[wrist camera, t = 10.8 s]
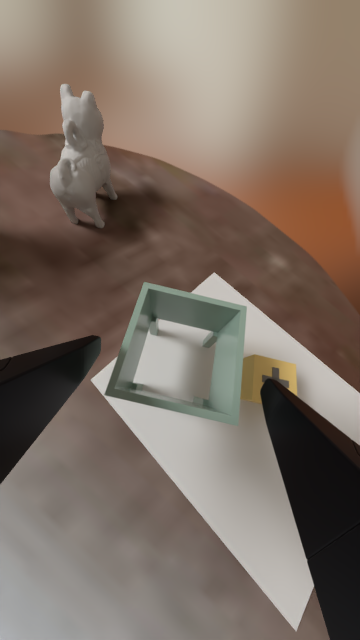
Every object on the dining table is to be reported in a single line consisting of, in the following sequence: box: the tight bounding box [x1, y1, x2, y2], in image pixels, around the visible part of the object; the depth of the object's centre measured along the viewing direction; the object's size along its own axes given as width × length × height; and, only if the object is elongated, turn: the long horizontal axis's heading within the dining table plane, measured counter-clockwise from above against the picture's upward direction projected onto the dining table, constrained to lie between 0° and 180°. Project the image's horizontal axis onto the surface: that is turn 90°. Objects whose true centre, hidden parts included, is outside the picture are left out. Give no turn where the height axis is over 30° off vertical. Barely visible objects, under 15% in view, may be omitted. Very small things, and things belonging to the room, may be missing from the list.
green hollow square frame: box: [104, 282, 247, 426], centre depth 14 cm, size 7×7×10 cm
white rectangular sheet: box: [91, 273, 360, 631], centre depth 18 cm, size 25×20×1 cm
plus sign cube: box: [240, 354, 297, 404], centre depth 17 cm, size 4×4×4 cm
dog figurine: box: [50, 84, 117, 228], centre depth 22 cm, size 5×13×11 cm, turn 173°
